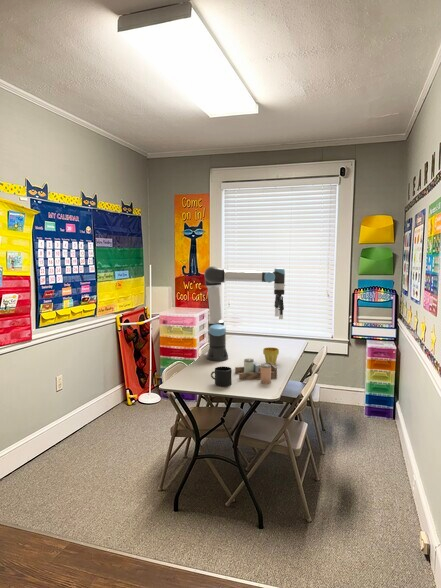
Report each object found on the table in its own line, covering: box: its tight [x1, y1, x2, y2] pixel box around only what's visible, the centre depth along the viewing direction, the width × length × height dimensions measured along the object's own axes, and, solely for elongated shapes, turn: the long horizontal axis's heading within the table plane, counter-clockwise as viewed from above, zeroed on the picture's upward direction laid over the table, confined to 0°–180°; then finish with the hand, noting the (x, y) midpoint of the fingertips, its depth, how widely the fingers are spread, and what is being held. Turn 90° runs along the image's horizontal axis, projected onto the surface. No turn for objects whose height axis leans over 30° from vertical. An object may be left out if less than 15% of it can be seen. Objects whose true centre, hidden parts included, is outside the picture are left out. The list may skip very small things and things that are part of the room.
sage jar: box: [243, 358, 255, 373], centre depth 245 cm, size 6×6×10 cm
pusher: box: [254, 360, 262, 372], centre depth 246 cm, size 4×11×7 cm, turn 8°
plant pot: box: [262, 346, 280, 365], centre depth 274 cm, size 10×10×10 cm
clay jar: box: [259, 363, 272, 385], centre depth 232 cm, size 6×6×10 cm
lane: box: [234, 362, 278, 380], centre depth 246 cm, size 22×14×6 cm, turn 98°
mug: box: [210, 366, 232, 388], centre depth 228 cm, size 9×12×9 cm
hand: (278, 317), depth 300 cm, fingers open, 13 cm apart
